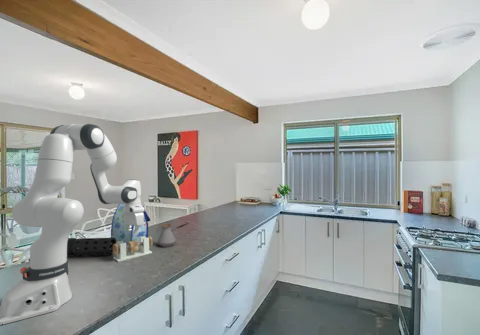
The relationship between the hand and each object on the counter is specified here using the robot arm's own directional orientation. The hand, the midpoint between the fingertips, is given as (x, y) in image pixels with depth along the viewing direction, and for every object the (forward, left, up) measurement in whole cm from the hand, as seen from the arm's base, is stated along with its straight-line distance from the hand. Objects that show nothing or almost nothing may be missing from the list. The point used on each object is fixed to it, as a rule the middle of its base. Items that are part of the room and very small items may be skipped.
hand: (132, 232), depth 142 cm
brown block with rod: (0, 0, -11) cm, 11 cm away
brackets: (0, 0, -14) cm, 14 cm away
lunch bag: (+9, +27, -14) cm, 32 cm away
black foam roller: (-18, +19, -14) cm, 30 cm away
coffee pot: (+26, 0, -14) cm, 30 cm away
